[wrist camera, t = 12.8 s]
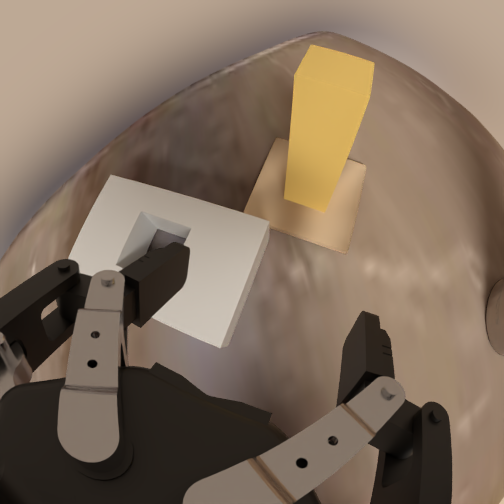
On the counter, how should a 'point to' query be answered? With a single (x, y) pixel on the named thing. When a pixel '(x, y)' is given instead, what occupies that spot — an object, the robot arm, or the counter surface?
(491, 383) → the counter surface
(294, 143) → the yellow block
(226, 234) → the white rectangular block
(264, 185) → the mat
